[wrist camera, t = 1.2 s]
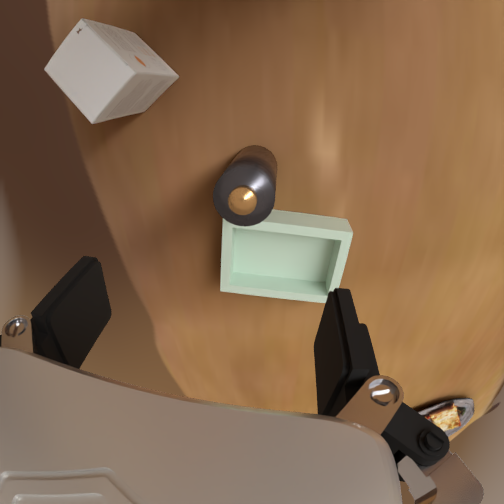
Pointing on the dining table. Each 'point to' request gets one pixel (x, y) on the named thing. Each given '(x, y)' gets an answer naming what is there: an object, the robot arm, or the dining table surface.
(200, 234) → the dining table surface
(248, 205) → the cylinder
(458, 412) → the food plate
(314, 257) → the trough
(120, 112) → the small box
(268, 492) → the robot arm
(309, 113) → the dining table surface
